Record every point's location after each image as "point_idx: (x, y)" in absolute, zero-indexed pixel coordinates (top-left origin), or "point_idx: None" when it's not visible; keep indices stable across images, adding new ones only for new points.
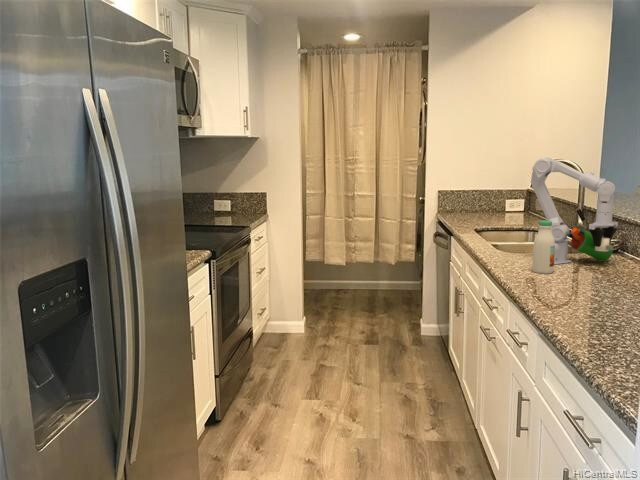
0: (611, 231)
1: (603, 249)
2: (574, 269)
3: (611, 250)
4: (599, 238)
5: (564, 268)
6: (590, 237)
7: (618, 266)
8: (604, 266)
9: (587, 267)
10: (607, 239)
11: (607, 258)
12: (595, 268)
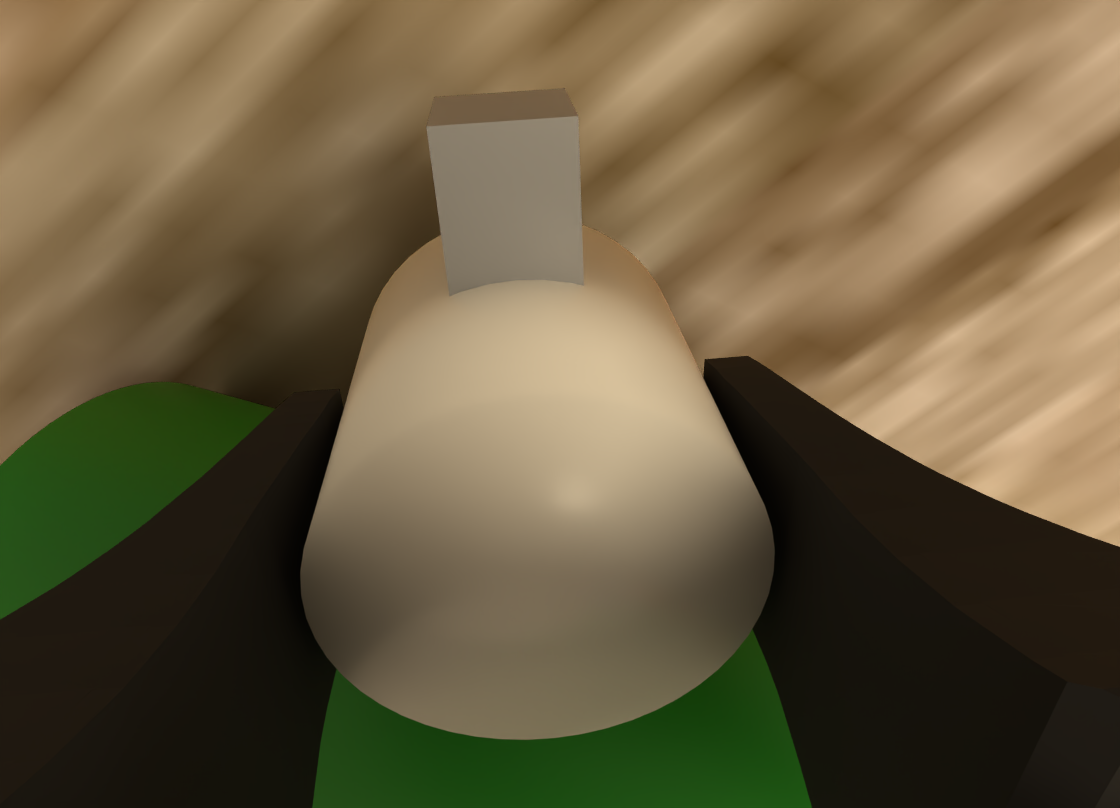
0: (141, 762)
1: (632, 263)
2: (1066, 225)
3: (45, 461)
4: (941, 480)
5: (1099, 329)
6: (693, 775)
7: (211, 64)
8: None
9: (775, 243)
10: (581, 384)
11: (183, 389)
12: (736, 133)
